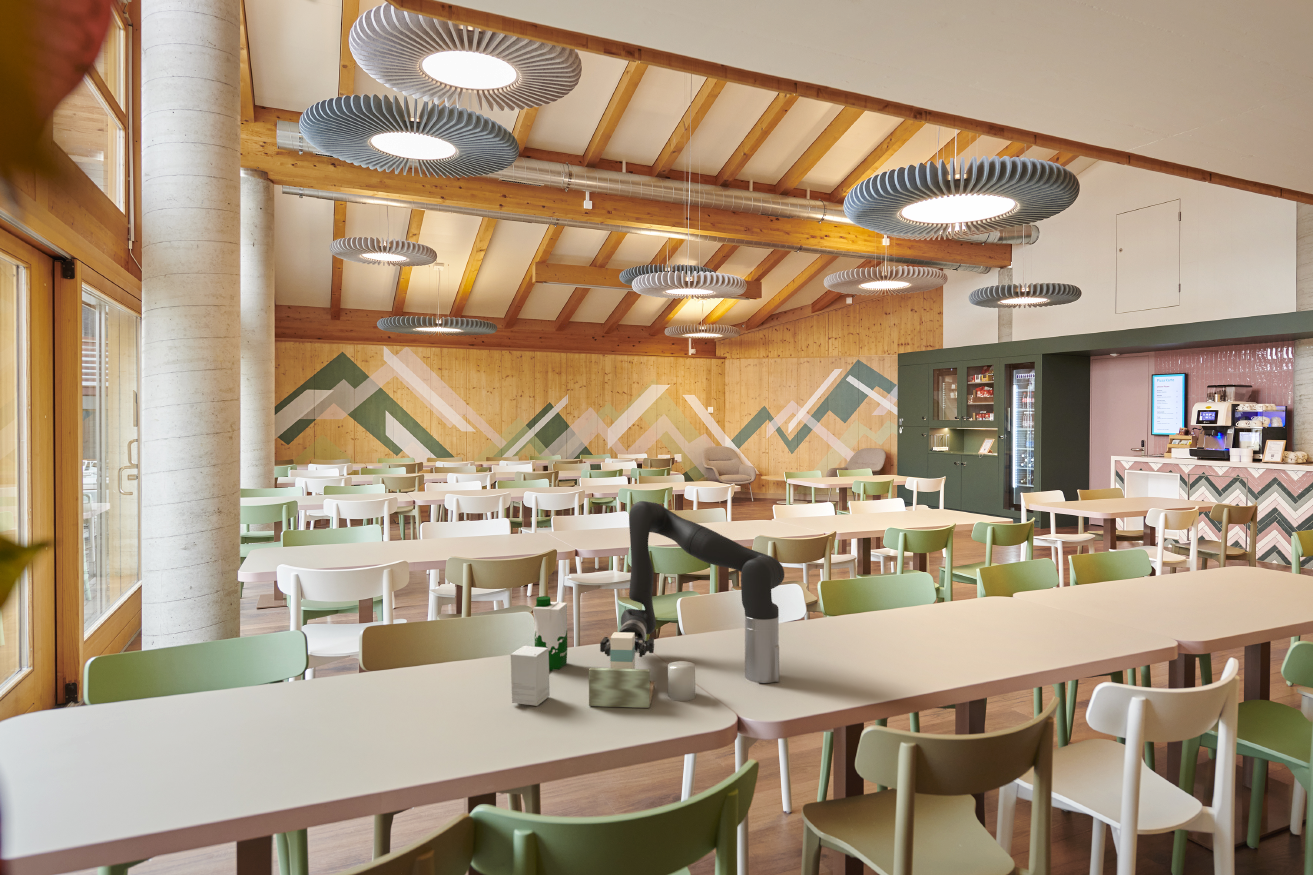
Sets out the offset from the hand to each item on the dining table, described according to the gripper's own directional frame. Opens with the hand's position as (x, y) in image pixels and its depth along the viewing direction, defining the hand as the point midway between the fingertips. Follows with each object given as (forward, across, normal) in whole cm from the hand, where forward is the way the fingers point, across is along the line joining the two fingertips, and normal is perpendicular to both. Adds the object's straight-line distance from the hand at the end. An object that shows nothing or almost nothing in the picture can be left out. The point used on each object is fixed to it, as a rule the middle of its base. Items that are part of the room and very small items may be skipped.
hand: (624, 652), depth 201 cm
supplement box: (+6, -23, +11) cm, 26 cm away
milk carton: (-21, -24, +11) cm, 34 cm away
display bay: (+2, 0, +11) cm, 11 cm away
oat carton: (+1, 0, +9) cm, 9 cm away
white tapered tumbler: (0, +15, +11) cm, 18 cm away
